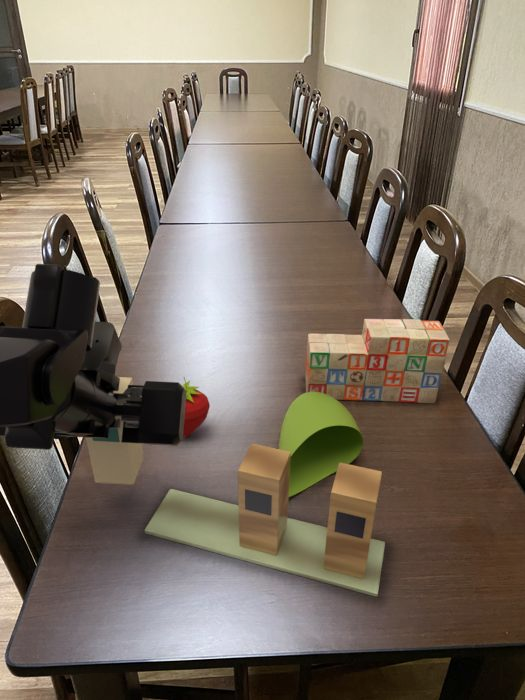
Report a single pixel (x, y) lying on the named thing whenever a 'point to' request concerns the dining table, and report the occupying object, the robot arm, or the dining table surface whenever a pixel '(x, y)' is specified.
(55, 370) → the robot arm
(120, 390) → the tall cream block
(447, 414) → the dining table surface
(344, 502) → the block line
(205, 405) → the strawberry
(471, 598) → the dining table surface
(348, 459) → the green curved shell
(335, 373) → the stack of blocks
